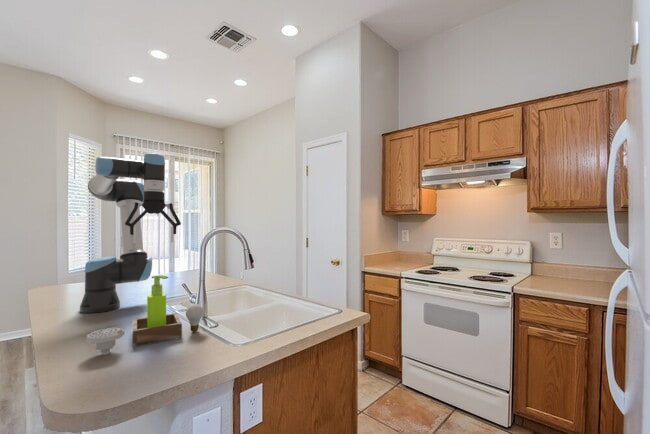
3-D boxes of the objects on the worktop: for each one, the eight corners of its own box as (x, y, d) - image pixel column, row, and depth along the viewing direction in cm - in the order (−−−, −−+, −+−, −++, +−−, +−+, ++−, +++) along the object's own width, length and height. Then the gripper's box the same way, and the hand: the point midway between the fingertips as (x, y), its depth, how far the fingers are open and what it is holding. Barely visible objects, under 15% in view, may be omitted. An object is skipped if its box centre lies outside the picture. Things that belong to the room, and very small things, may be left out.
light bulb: (182, 332, 114) (183, 304, 114) (198, 327, 118) (198, 301, 119) (190, 336, 110) (190, 307, 110) (206, 331, 114) (206, 304, 115)
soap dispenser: (160, 336, 107) (160, 277, 108) (143, 334, 109) (143, 276, 109) (172, 330, 113) (172, 274, 113) (155, 328, 114) (155, 274, 115)
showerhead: (111, 335, 91) (78, 335, 91) (111, 360, 91) (77, 360, 91) (132, 324, 100) (102, 324, 101) (132, 347, 100) (101, 347, 101)
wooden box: (132, 333, 113) (132, 319, 113) (176, 326, 121) (176, 313, 121) (132, 346, 101) (132, 331, 101) (181, 338, 108) (181, 323, 108)
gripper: (117, 188, 120) (117, 244, 120) (188, 192, 133) (187, 242, 133) (118, 190, 126) (118, 243, 126) (185, 193, 139) (185, 241, 139)
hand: (153, 242), depth 130 cm, fingers open, 13 cm apart
